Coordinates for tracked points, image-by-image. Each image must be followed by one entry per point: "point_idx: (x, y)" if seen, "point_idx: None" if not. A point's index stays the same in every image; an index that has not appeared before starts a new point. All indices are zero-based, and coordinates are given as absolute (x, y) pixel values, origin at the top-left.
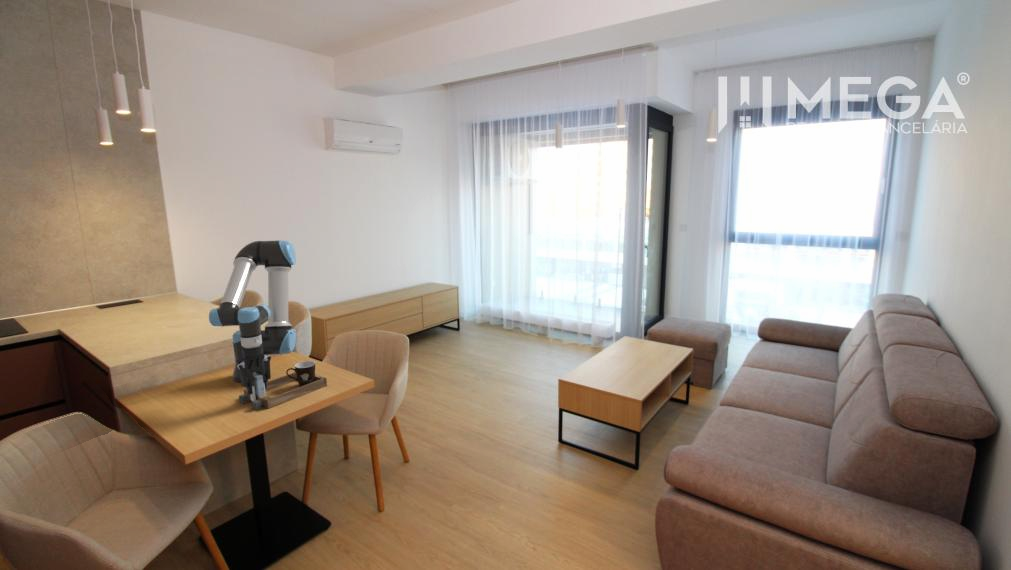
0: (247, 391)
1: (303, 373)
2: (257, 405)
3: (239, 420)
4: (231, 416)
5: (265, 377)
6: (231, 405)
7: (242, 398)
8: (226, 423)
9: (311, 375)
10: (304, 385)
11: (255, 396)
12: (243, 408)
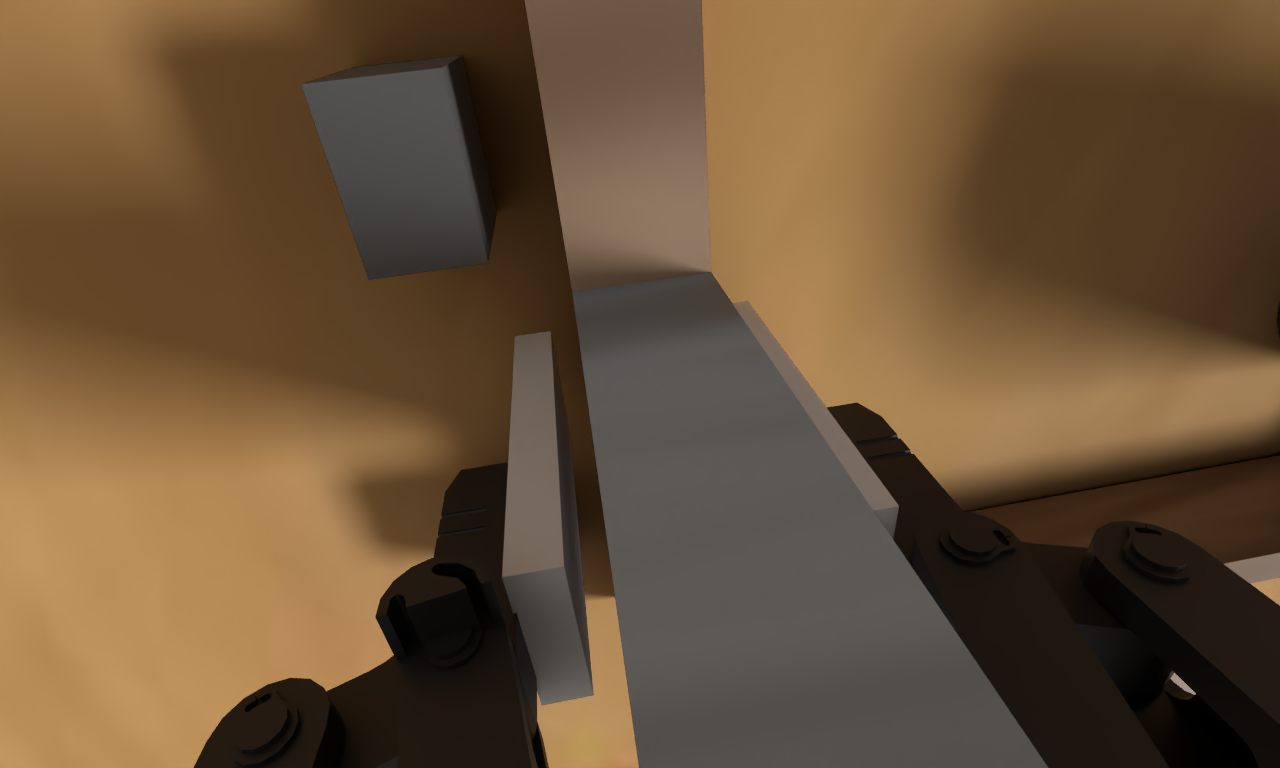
0: (546, 76)
1: None
2: None
3: (253, 666)
4: (153, 528)
5: None
6: (160, 87)
7: (369, 248)
8: (84, 656)
9: None
10: (1230, 566)
11: (574, 493)
12: (361, 393)
